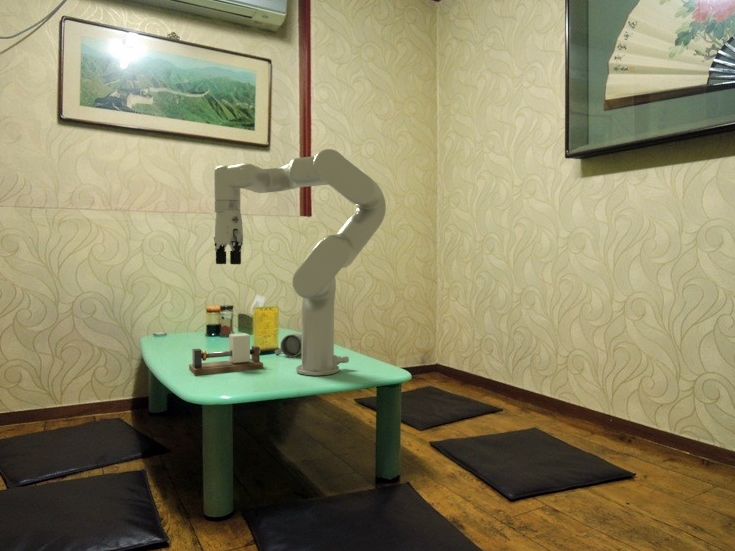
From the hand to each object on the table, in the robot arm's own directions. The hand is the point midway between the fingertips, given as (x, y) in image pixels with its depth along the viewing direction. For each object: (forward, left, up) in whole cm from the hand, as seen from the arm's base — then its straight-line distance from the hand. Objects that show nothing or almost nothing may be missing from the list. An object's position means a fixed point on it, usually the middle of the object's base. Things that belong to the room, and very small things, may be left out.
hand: (228, 264), depth 154 cm
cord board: (+1, +2, -32) cm, 32 cm away
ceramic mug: (-24, -10, -32) cm, 41 cm away
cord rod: (+2, +2, -30) cm, 30 cm away
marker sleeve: (-3, +2, -29) cm, 30 cm away
